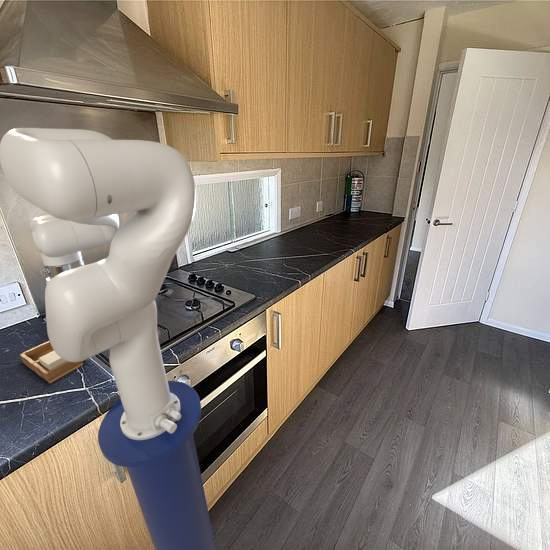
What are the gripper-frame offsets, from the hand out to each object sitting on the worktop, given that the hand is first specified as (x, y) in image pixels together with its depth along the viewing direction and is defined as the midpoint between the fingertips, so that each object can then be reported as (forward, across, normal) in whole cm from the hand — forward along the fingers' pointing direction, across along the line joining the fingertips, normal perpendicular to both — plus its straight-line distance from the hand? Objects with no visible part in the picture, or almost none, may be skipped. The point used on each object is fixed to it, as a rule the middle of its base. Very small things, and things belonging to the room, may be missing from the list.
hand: (88, 332), depth 76 cm
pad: (+11, -6, +10) cm, 16 cm away
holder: (+11, -6, +14) cm, 19 cm away
